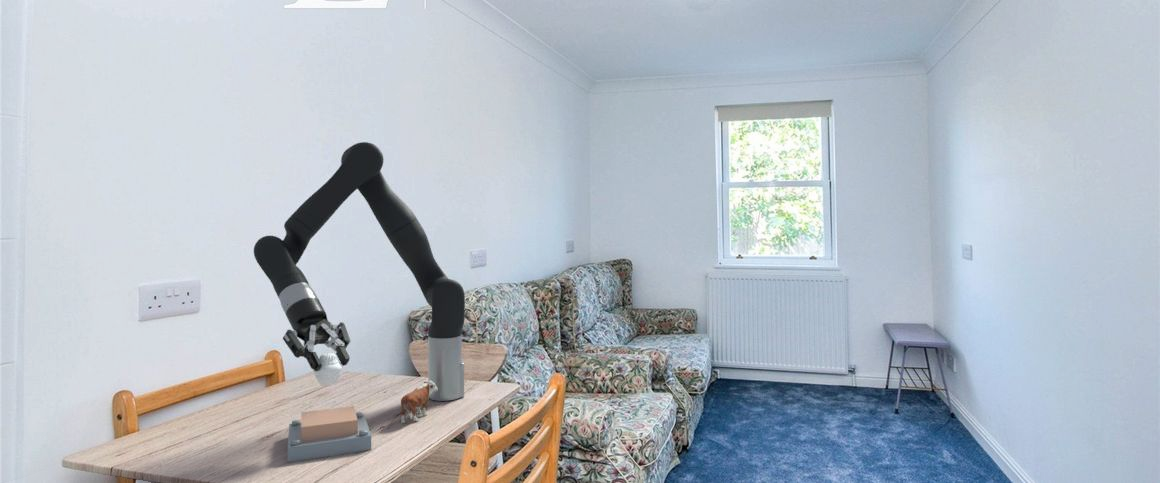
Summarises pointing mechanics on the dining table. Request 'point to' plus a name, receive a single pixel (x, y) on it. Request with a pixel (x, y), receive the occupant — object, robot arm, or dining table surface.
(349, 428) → the grey pegged tray
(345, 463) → the dining table surface
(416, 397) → the bull figurine
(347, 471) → the dining table surface
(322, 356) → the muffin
